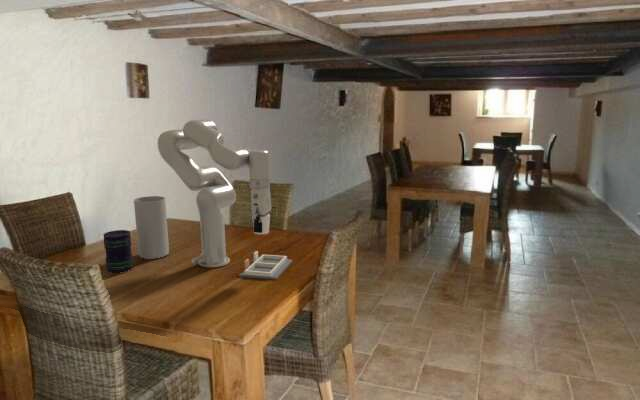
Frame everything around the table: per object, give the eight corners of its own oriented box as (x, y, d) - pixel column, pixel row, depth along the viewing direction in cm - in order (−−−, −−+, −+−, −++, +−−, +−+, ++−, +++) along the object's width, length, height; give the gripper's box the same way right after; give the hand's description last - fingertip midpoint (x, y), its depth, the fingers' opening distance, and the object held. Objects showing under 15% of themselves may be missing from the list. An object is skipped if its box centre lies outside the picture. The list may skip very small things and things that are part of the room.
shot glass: (249, 234, 175) (249, 216, 174) (255, 229, 181) (255, 212, 180) (267, 235, 174) (266, 216, 172) (272, 230, 180) (272, 213, 179)
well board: (276, 279, 174) (276, 267, 173) (238, 276, 177) (238, 264, 176) (292, 261, 194) (292, 250, 193) (258, 259, 197) (258, 248, 196)
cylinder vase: (132, 257, 200) (127, 200, 195) (154, 249, 211) (150, 195, 206) (153, 261, 195) (148, 203, 190) (175, 253, 206) (171, 197, 201)
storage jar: (104, 275, 180) (100, 237, 177) (108, 266, 189) (105, 231, 186) (132, 272, 182) (128, 235, 179) (135, 264, 191) (131, 229, 188)
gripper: (261, 187, 165) (262, 236, 168) (276, 180, 181) (277, 224, 185) (241, 187, 166) (243, 235, 170) (258, 179, 183) (259, 223, 187)
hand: (261, 229), depth 177 cm, fingers closed on shot glass, 6 cm apart
